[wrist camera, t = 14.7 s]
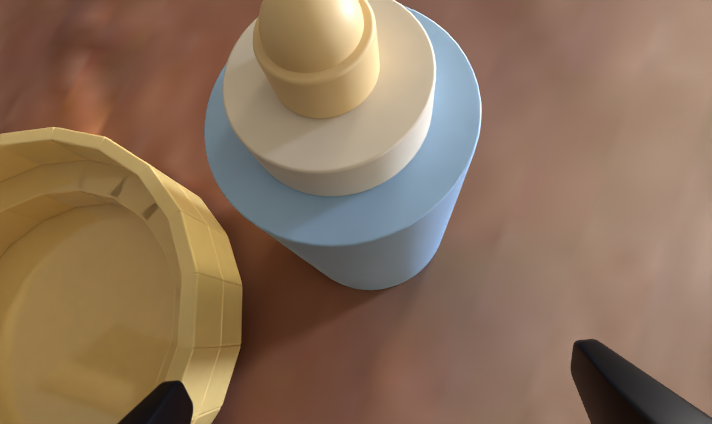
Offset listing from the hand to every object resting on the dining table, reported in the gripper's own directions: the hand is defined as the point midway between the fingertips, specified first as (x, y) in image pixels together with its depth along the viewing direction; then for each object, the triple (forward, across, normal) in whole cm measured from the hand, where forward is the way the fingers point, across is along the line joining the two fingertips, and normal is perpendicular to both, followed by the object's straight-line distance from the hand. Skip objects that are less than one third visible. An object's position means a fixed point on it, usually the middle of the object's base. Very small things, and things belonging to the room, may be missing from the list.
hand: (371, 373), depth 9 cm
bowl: (+7, +13, +3) cm, 15 cm away
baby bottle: (+10, 0, +1) cm, 10 cm away
